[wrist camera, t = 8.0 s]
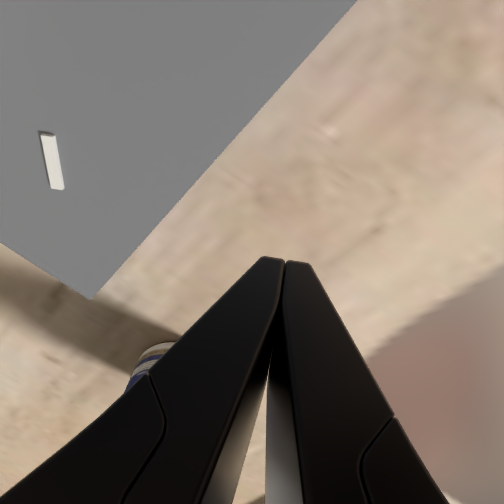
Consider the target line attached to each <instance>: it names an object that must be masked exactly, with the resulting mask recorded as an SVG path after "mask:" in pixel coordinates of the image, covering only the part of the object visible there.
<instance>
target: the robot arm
mask: <svg viewBox="0 0 504 504" xmlns="http://www.w3.org/2000/svg"><path fill="white" fill-rule="evenodd" d="M269 365H270V366H269ZM268 370H269V374H268ZM267 376H268V382H267V414H266V470H265V504H449V502H448V501H447V499H446V498H445V496H444V495H443V493H442V492H441V490H440V489H439V487H438V486H437V484H436V483H435V481H434V480H433V478H432V477H431V475H430V474H429V472H428V470H427V469H426V467H425V465H424V464H423V462H422V460H421V459H420V457H419V455H418V454H417V452H416V450H415V449H414V447H413V445H412V444H411V442H410V440H409V438H408V437H407V435H406V433H405V431H404V429H403V428H402V426H401V424H400V422H399V420H398V419H397V418H393V417H394V412H393V410H392V408H391V407H390V405H389V403H388V401H387V400H386V398H385V396H384V394H383V392H382V391H381V389H380V387H379V385H378V384H377V382H376V380H375V378H374V376H373V375H372V373H371V371H370V369H369V368H368V366H367V364H366V362H365V360H364V359H363V357H362V355H361V353H360V352H359V350H358V348H357V346H356V345H355V343H354V341H353V339H352V337H351V336H350V334H349V332H348V330H347V329H346V327H345V325H344V323H343V321H342V320H341V318H340V316H339V314H338V313H337V311H336V309H335V307H334V305H333V304H332V302H331V300H330V298H329V297H328V295H327V293H326V291H325V289H324V288H323V286H322V284H321V282H320V281H319V279H318V277H317V275H316V273H315V272H314V270H313V268H312V266H311V265H310V264H309V263H305V262H299V261H293V260H288V261H287V262H286V264H285V261H284V260H283V259H280V258H274V257H267V256H263V257H261V258H260V259H259V260H258V261H257V262H256V263H255V264H254V265H253V266H252V267H251V268H250V269H249V270H248V271H247V272H246V273H245V274H244V275H243V276H242V277H241V278H240V279H239V280H238V281H237V282H236V283H235V284H234V285H233V286H232V287H231V288H230V289H229V290H228V291H227V292H226V293H225V294H224V295H223V296H222V297H221V298H220V299H219V300H218V301H217V302H216V303H215V304H214V305H212V306H211V307H210V308H209V309H208V310H207V311H206V312H205V313H204V314H203V315H202V316H201V317H200V318H199V319H198V320H197V321H196V322H195V323H194V324H193V325H192V326H191V327H190V328H189V329H188V330H187V331H186V332H185V333H184V334H183V335H182V336H181V337H180V338H179V339H178V340H177V341H176V342H175V343H174V344H173V345H172V346H171V347H170V348H169V349H168V350H167V351H166V352H165V353H164V354H163V355H162V356H161V357H160V358H159V359H158V360H157V361H156V362H155V363H154V364H153V365H152V366H151V367H150V368H149V369H148V370H147V374H143V375H142V376H141V377H140V378H139V379H138V380H137V381H136V382H135V383H134V384H133V385H132V386H131V387H130V388H129V389H128V390H127V391H126V392H125V393H124V394H123V395H122V396H121V397H120V398H118V399H117V400H116V401H115V402H114V403H113V404H112V405H111V406H110V407H109V408H108V409H107V410H106V411H105V412H104V413H102V414H101V415H100V416H99V417H98V418H97V419H96V420H95V421H93V422H92V423H91V424H90V425H89V426H87V427H86V428H85V429H84V430H83V431H81V432H80V433H79V434H78V435H77V436H75V437H74V438H73V439H72V440H71V441H69V442H68V443H67V444H66V445H65V446H63V447H62V448H61V449H60V450H58V451H57V452H56V453H55V454H53V455H52V456H51V457H50V458H48V459H47V460H46V461H44V462H43V463H42V464H41V465H39V466H38V467H37V468H36V469H34V470H33V471H32V472H31V473H29V474H28V475H27V476H26V477H24V478H23V479H22V480H21V481H19V482H18V483H17V484H16V485H14V486H13V487H12V488H11V489H9V490H8V491H7V492H6V493H4V494H3V495H2V496H1V497H0V504H232V502H233V499H234V495H235V492H236V488H237V485H238V481H239V478H240V474H241V471H242V467H243V464H244V460H245V457H246V453H247V450H248V446H249V443H250V439H251V436H252V432H253V429H254V425H255V422H256V418H257V415H258V411H259V408H260V404H261V401H262V397H263V394H264V390H265V386H266V381H267Z"/></svg>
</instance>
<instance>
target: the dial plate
mask: <svg viewBox="0 0 504 504" xmlns="http://www.w3.org/2000/svg"><path fill="white" fill-rule="evenodd" d="M356 1H357V0H0V243H2V244H3V245H5V246H6V247H8V248H10V249H11V250H13V251H14V252H16V253H17V254H19V255H20V256H22V257H23V258H25V259H27V260H28V261H30V262H31V263H33V264H34V265H36V266H37V267H39V268H41V269H42V270H44V271H45V272H47V273H48V274H50V275H51V276H53V277H55V278H56V279H58V280H59V281H61V282H62V283H64V284H65V285H67V286H69V287H70V288H72V289H73V290H75V291H76V292H78V293H79V294H81V295H83V296H84V297H86V298H87V299H89V300H91V299H92V298H93V297H94V296H95V295H96V294H97V292H98V291H99V290H100V289H101V288H102V287H103V286H104V285H105V283H106V282H107V281H108V280H109V279H110V278H111V277H112V276H113V274H114V273H115V272H116V271H117V270H118V269H119V268H120V267H121V265H122V264H123V263H124V262H125V261H126V260H127V259H128V258H129V256H130V255H131V254H132V253H133V252H134V251H135V250H136V249H137V247H138V246H139V245H140V244H141V243H142V242H143V241H144V240H145V238H146V237H147V236H148V235H149V234H150V233H151V232H152V231H153V229H154V228H155V227H156V226H157V225H158V224H159V223H160V222H161V220H162V219H163V218H164V217H165V216H166V215H167V214H168V213H169V211H170V210H171V209H172V208H173V207H174V206H175V205H176V204H177V202H178V201H179V200H180V199H181V198H182V197H183V196H184V195H185V194H186V192H187V191H188V190H189V189H190V188H191V187H192V186H193V185H194V183H195V182H196V181H197V180H198V179H199V178H200V177H201V176H202V174H203V173H204V172H205V171H206V170H207V169H208V168H209V167H210V165H211V164H212V163H213V162H214V161H215V160H216V159H217V158H218V156H219V155H220V154H221V153H222V152H223V151H224V150H225V149H226V147H227V146H228V145H229V144H230V143H231V142H232V141H233V140H234V138H235V137H236V136H237V135H238V134H239V133H240V132H241V131H242V129H243V128H244V127H245V126H246V125H247V124H248V123H249V122H250V120H251V119H252V118H253V117H254V116H255V115H256V114H257V113H258V111H259V110H260V109H261V108H262V107H263V106H264V105H265V104H266V102H267V101H268V100H269V99H270V98H271V97H272V96H273V95H274V93H275V92H276V91H277V90H278V89H279V88H280V87H281V86H282V84H283V83H284V82H285V81H286V80H287V79H288V78H289V77H290V76H291V74H292V73H293V72H294V71H295V70H296V69H297V68H298V67H299V65H300V64H301V63H302V62H303V61H304V60H305V59H306V58H307V56H308V55H309V54H310V53H311V52H312V51H313V50H314V49H315V47H316V46H317V45H318V44H319V43H320V42H321V41H322V40H323V38H324V37H325V36H326V35H327V34H328V33H329V32H330V31H331V29H332V28H333V27H334V26H335V25H336V24H337V23H338V22H339V20H340V19H341V18H342V17H343V16H344V15H345V14H346V13H347V11H348V10H349V9H350V8H351V7H352V6H353V5H354V4H355V2H356Z"/></svg>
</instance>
